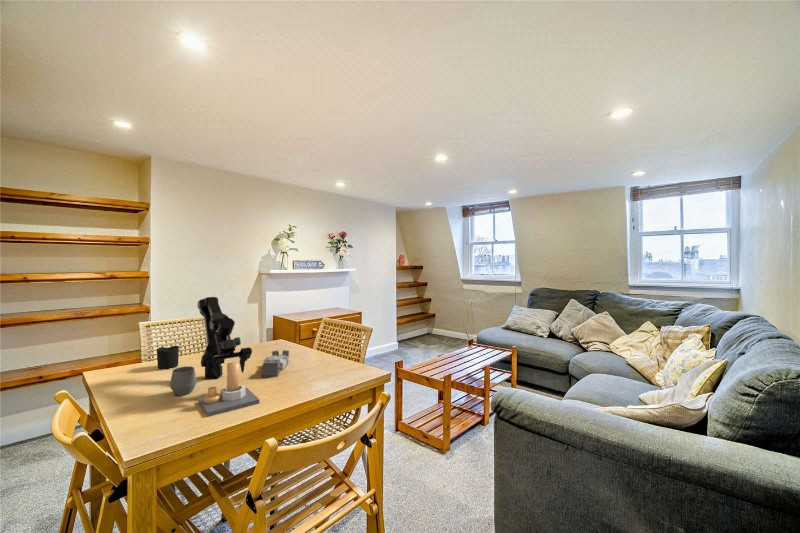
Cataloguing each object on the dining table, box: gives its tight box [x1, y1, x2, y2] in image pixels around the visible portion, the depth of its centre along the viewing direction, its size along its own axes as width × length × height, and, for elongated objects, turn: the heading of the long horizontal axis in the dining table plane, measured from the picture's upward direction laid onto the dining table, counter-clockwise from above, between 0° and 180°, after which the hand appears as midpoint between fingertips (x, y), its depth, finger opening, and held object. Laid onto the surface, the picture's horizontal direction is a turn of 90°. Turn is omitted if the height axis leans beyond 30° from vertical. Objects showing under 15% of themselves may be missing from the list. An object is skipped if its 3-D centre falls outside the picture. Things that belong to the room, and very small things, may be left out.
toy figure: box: [262, 349, 290, 378], centre depth 178 cm, size 11×7×30 cm
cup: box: [169, 365, 197, 396], centre depth 143 cm, size 10×9×10 cm
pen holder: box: [156, 345, 180, 370], centre depth 176 cm, size 9×9×10 cm
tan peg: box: [226, 361, 240, 392], centre depth 137 cm, size 4×4×13 cm
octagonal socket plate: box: [198, 384, 260, 417], centre depth 134 cm, size 16×18×6 cm
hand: (231, 374), depth 139 cm, fingers open, 9 cm apart
